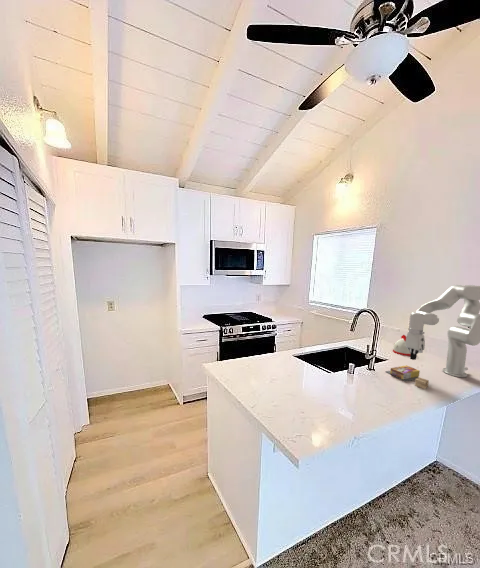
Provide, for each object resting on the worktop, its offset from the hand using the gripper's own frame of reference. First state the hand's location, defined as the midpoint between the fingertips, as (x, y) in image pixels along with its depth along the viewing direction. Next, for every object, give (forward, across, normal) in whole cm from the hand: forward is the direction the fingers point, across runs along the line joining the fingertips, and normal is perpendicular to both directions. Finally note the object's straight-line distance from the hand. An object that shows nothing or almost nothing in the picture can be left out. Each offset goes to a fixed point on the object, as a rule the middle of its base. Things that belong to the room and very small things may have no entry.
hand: (413, 359), depth 166 cm
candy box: (+8, 0, 0) cm, 8 cm away
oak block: (+10, -14, +10) cm, 20 cm away
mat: (+10, 0, +8) cm, 13 cm away
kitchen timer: (+10, +34, -33) cm, 49 cm away
